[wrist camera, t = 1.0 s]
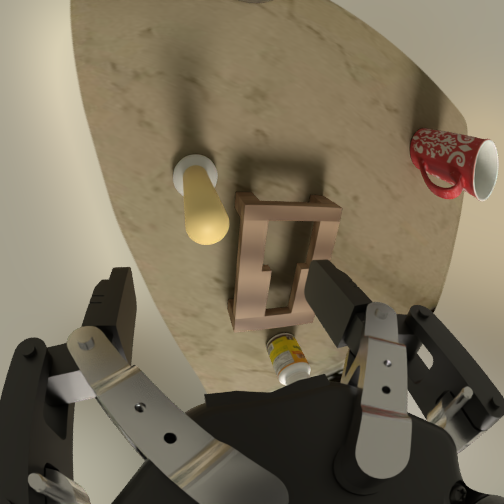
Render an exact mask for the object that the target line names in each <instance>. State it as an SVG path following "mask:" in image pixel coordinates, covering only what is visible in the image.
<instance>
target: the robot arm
mask: <svg viewBox="0 0 504 504" xmlns="http://www.w3.org/2000/svg"><path fill="white" fill-rule="evenodd" d="M239 1H244V2H250V3H264V2H268V1H272V0H239ZM304 295H305V299H306V301H307V303H308V304H309V306H310V307H311V309H312V310H313V312H314V313H315V315H316V316H317V318H318V319H319V321H320V322H321V324H322V325H323V327H324V328H325V330H326V331H327V333H328V335H329V336H330V338H331V339H332V341H333V342H334V344H335V345H336V347H337V348H340V347H344V346H348V347H349V349H348V351H347V354H346V359H345V364H344V369H343V374H342V378H341V383H338V382H329V381H328V379H327V377H326V375H325V374H323V375H318V376H314V377H310V378H306V379H301V380H298V381H295V382H293V383H291V384H289V385H287V386H285V387H283V388H280V389H278V390H276V391H274V392H269V393H266V392H247V391H231V392H223V393H213V394H205V395H204V396H205V403H204V404H201V405H198V406H196V407H194V408H192V409H190V410H188V411H187V412H185V413H184V412H183V411H182V410H181V409H179V408H178V407H177V406H176V405H175V404H174V403H173V402H172V401H171V400H170V399H169V398H168V397H167V396H165V394H164V393H163V392H162V391H161V390H160V389H159V388H158V387H157V386H156V385H155V384H154V383H153V382H152V381H151V380H150V379H149V378H148V377H147V376H146V375H145V374H144V373H143V372H142V371H141V370H140V369H139V368H138V367H137V366H135V365H133V366H131V359H132V347H133V336H134V327H135V319H136V310H137V305H136V296H135V290H134V284H133V278H132V271H131V268H130V267H116V268H113V269H112V272H111V275H110V278H109V280H101V281H100V282H99V283H98V285H97V286H96V287H95V289H94V291H93V294H92V297H91V299H90V304H89V305H88V308H87V311H86V314H85V317H84V320H83V323H82V327H80V328H78V329H76V330H74V331H73V332H72V333H71V334H70V335H69V337H68V339H67V343H64V344H61V345H57V346H52V347H48V348H47V347H46V345H45V343H44V341H42V340H41V339H39V338H28V339H26V340H24V341H22V342H21V343H20V344H19V345H18V346H17V348H16V349H15V352H14V355H13V358H12V361H11V364H10V367H9V370H8V373H7V377H6V380H5V384H4V388H3V391H2V395H1V400H0V504H91V503H90V499H89V496H88V494H87V492H86V491H85V490H84V489H83V487H82V486H80V485H79V484H77V483H76V482H74V480H73V421H74V406H75V402H78V401H82V400H86V399H90V398H95V399H96V400H97V402H98V403H99V404H100V406H101V407H102V409H103V410H104V411H105V413H106V414H107V415H108V417H109V418H110V419H111V421H112V422H113V423H114V425H115V426H116V427H117V428H118V430H119V431H120V432H121V434H122V435H123V436H124V437H125V439H126V440H127V441H128V442H129V443H130V445H131V446H132V447H133V448H134V449H135V451H136V452H137V453H138V454H139V455H140V456H141V457H142V458H143V459H144V460H145V462H144V463H143V464H142V466H141V467H140V468H139V469H138V471H137V472H136V473H135V475H134V476H133V477H132V479H131V480H130V481H129V482H128V484H127V485H126V486H125V488H124V489H123V490H122V491H121V492H120V494H119V495H118V496H117V497H116V499H115V500H114V501H113V502H112V503H111V504H504V498H503V497H501V496H497V495H489V494H484V493H480V492H477V491H474V490H472V489H470V488H469V487H468V486H466V484H465V483H464V481H463V479H462V476H461V473H460V469H459V464H458V456H457V454H458V453H459V452H461V451H462V450H464V449H465V448H466V447H468V446H469V445H470V444H471V443H473V442H474V441H475V440H476V439H478V437H480V436H481V435H482V434H484V433H485V432H486V431H487V430H488V429H489V428H490V427H492V426H493V425H494V424H495V423H496V422H497V421H498V420H499V419H500V418H501V417H502V416H503V415H504V398H503V396H502V395H501V394H500V392H499V391H498V390H497V388H496V387H495V386H494V384H493V383H492V382H491V380H490V379H489V378H488V376H487V375H486V374H485V372H484V371H483V370H482V369H481V367H480V366H479V365H478V364H477V363H476V361H475V360H474V359H473V358H472V356H471V355H470V354H469V353H468V352H467V350H466V349H465V348H464V347H463V346H462V345H461V343H460V342H459V341H458V340H457V339H456V338H455V337H454V335H453V334H452V333H451V332H450V331H449V330H448V329H447V328H446V327H445V325H444V324H443V323H442V322H441V321H440V320H439V319H438V318H437V317H436V316H435V315H434V314H433V312H432V311H430V310H429V309H428V308H426V307H423V306H420V305H414V306H412V307H411V308H410V310H409V312H408V314H407V315H403V314H396V312H395V311H394V310H393V309H392V308H391V307H390V306H388V305H386V304H384V303H380V302H372V301H371V300H370V299H369V298H368V297H367V296H366V294H365V293H364V292H363V291H362V290H361V289H360V288H359V287H357V285H356V284H355V283H354V282H352V279H351V278H350V277H349V276H348V275H347V274H345V273H344V272H342V271H340V270H339V269H337V268H336V267H335V266H334V265H333V264H332V263H331V262H330V261H329V260H328V259H323V260H312V261H311V263H310V266H309V270H308V275H307V279H306V283H305V288H304ZM422 344H424V346H425V347H426V348H427V349H428V351H429V352H430V353H431V355H432V356H433V361H434V362H433V365H432V367H431V368H430V370H429V369H428V367H427V366H426V365H425V364H424V362H423V361H422V359H421V358H420V357H419V355H418V354H417V352H418V350H419V349H420V347H421V346H422ZM407 389H408V391H409V392H410V394H411V395H412V397H413V399H414V400H415V402H416V403H417V405H418V406H419V408H420V410H421V411H422V413H423V415H424V416H425V418H426V420H427V421H426V420H424V419H421V418H419V417H417V416H415V415H412V414H410V413H408V412H407Z"/></svg>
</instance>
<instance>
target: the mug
mask: <svg viewBox="0 0 504 504" xmlns="http://www.w3.org/2000/svg"><path fill="white" fill-rule="evenodd" d="M410 155H411V159H412V162H413V164H414V165H415V166H416V167H417V168H418V169H420V171H421V174H422V176H423V179H424V181H425V183H426V185H427V186H428V188H429V189H430V190H431V191H432V192H433V193H434V194H435V195H437V196H439V197H441V198H444V199H453V198H456V197H458V196H459V195H460V193H461V192H462V190H463V191H465V192H467V193H469V194H471V195H473V196H474V197H476V198H477V199H478V200H479V201H485V200H486V199H487V198H488V197H489V196H490V194H491V193H492V191H493V188H494V186H495V183H496V179H497V174H498V153H497V149H496V146H495V144H494V142H493V141H492V140H490V139H480V138H476V137H472V136H467V135H462V134H456V133H451V132H445V131H438V130H433V129H426V128H422V129H419V130H418V131H417V132H416V133H415V134H414V136H413V138H412V140H411V145H410ZM427 173H429V174H431V175H433V176H435V177H438V178H440V179H442V180H444V181H446V182H448V183H450V184H452V185H454V186H452V187H450V188H442V187H439V186H437V185H435V184H434V183H432V182H431V181H430V179H429V177H428V176H427Z"/></svg>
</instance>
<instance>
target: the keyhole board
mask: <svg viewBox="0 0 504 504" xmlns="http://www.w3.org/2000/svg"><path fill="white" fill-rule="evenodd" d="M235 209H236V211H237V212H238V214H239V216H240V218H241V219H240V230H239V242H238V254H237V267H236V280H235V293H234V299H228V313H229V316H230V320H231V323H232V327H233V330H234V332H244V331H254V330H262V329H271V328H279V327H286V326H294V325H301V324H307V323H313V320H314V317H315V313H314V312H313V310H312V309H311V307H310V306H309V304H308V303H307V301H306V299H305V295H304V288H305V283H306V279H307V275H308V270H309V266H310V263H311V261H312V260H323V259H328V260H329V261H330V260H331V256H332V252H333V248H334V244H335V240H336V236H337V231H338V227H339V223H340V218H341V214H342V209H343V208H342V207H340V206H338V205H337V204H335V203H334V202H332V201H331V200H329V199H328V198H326V197H325V196H320V195H310V201H309V203H306V202H281V201H259V199H258V198H257V197H256V196H255V195H254V194H253V193H252V192H236V196H235ZM268 221H314V224H313V229H312V235H311V239H310V244H309V249H308V254H307V259H306V263H297V266H296V271H295V276H294V280H293V285H292V290H291V295H290V299H289V304H288V307H281V308H271V309H266V303H267V297H268V291H269V284H270V278H271V272H272V271H271V269H270V267H269V266H268V265H263V258H264V251H265V243H266V236H267V228H268Z"/></svg>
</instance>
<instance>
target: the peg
mask: <svg viewBox="0 0 504 504" xmlns="http://www.w3.org/2000/svg"><path fill="white" fill-rule="evenodd" d="M217 178H218V175H217V170H216V167H215V165H214V164H213V163H212V161H211V160H210V159H209V158H207V157H205V156H203V155H200V154H192V155H188V156H186V157H184V158H182V159H181V160H180V161H179V162H178V163H177V165H176V167H175V169H174V173H173V182H174V186H175V188H176V189H177V191H178V192H179V193H180V194H181V195H183V196H184V210H185V225H186V231H187V234H188V235H189V237H190V238H191V239H192V240H193V241H195V242H196V243H199V244H203V245H210V244H214V243H216V242H218V241H220V240H221V239H222V238H223V237H224V236H225V235H226V233H227V231H228V229H229V218H228V215H227V213H226V211H225V209H224V207H223V205H222V203H221V201H220V199H219V197H218V194H217V192H216V190H215V188H214V187H215V185H216V183H217Z"/></svg>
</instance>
